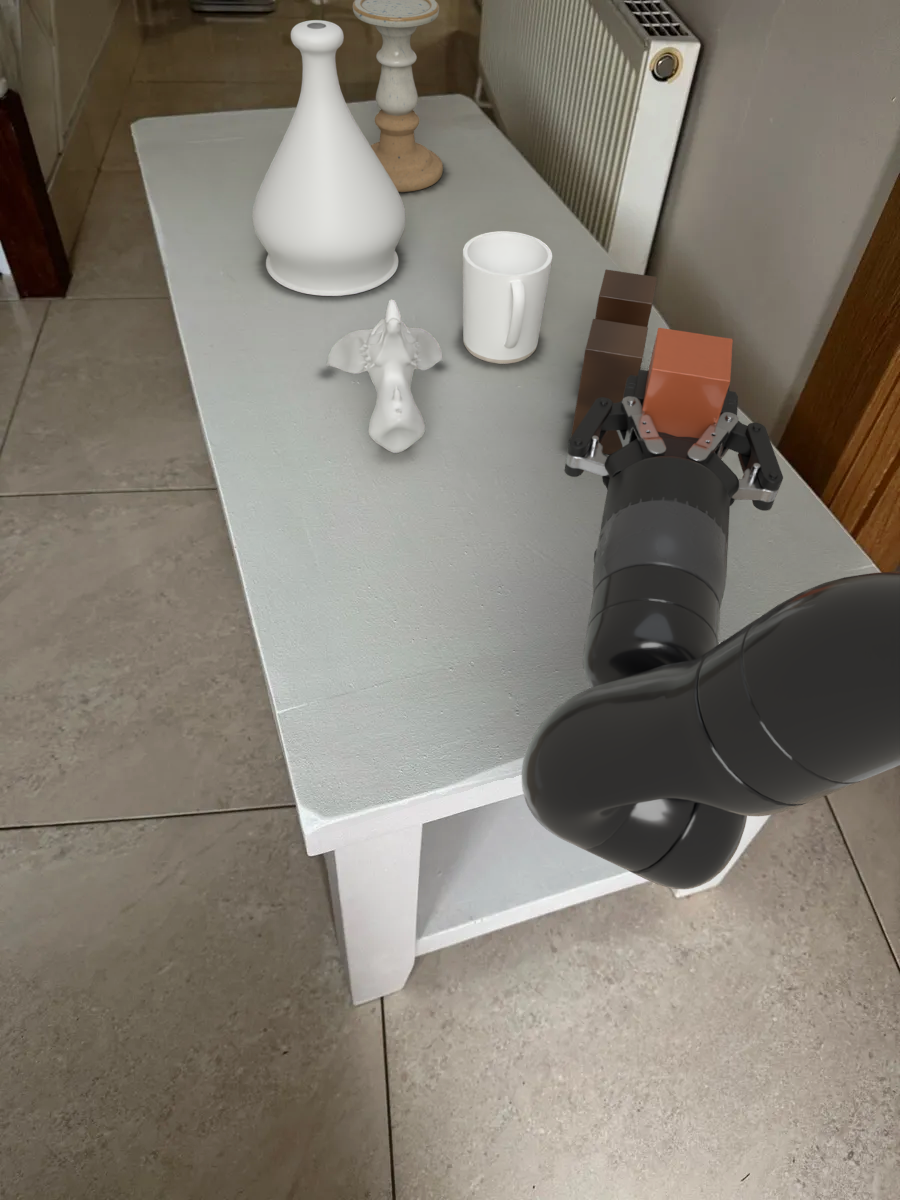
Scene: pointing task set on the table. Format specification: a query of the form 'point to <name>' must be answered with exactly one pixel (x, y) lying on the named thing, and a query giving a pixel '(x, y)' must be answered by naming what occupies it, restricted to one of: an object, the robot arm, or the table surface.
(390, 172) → the candle holder
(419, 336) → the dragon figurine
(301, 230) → the vase
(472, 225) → the table surface
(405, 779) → the table surface
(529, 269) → the mug
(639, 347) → the walnut block mid
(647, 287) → the walnut block far
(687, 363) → the terracotta block
